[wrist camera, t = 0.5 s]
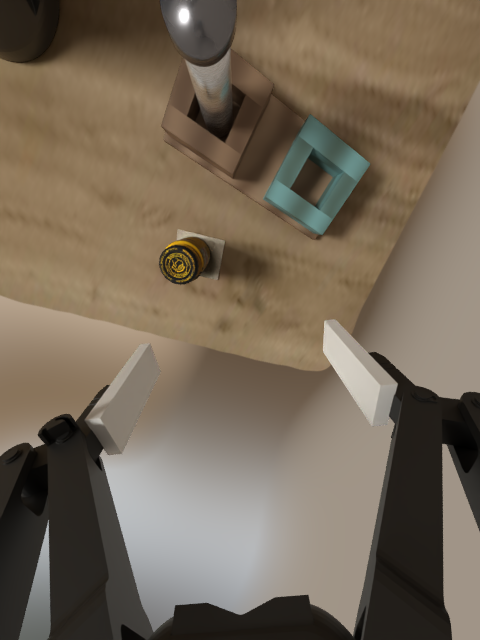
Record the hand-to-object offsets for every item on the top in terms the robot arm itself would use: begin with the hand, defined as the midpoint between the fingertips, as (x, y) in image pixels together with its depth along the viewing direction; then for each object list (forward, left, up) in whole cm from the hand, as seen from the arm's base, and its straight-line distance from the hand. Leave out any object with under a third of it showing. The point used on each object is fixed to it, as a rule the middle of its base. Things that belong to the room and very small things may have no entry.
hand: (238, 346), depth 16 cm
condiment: (-5, -6, -27) cm, 28 cm away
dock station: (-15, +10, -27) cm, 33 cm away
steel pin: (-21, +5, -26) cm, 34 cm away
